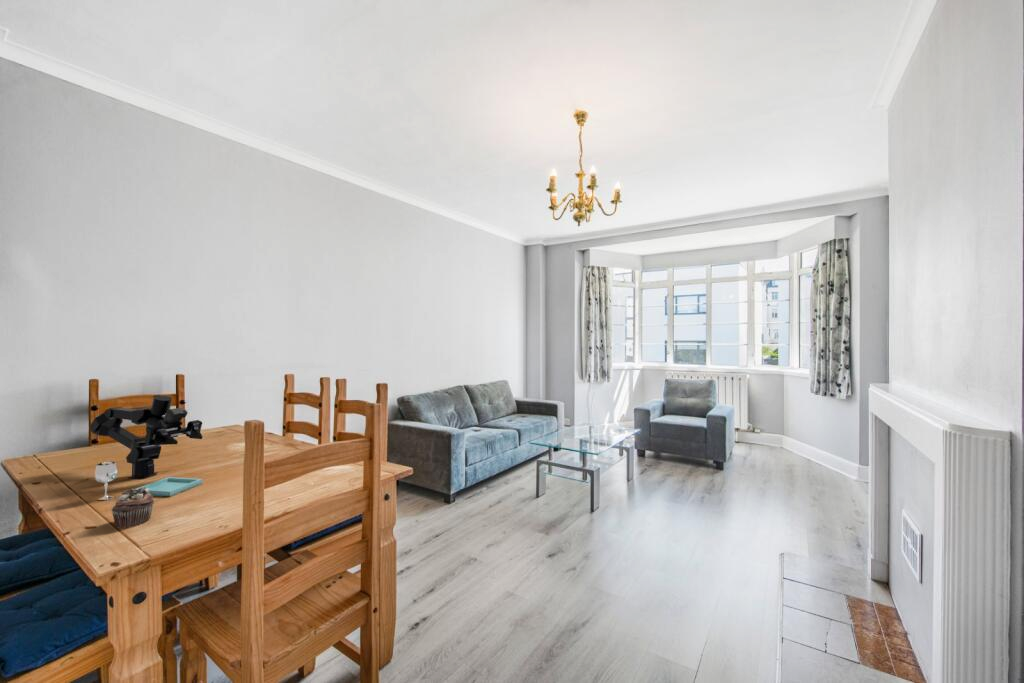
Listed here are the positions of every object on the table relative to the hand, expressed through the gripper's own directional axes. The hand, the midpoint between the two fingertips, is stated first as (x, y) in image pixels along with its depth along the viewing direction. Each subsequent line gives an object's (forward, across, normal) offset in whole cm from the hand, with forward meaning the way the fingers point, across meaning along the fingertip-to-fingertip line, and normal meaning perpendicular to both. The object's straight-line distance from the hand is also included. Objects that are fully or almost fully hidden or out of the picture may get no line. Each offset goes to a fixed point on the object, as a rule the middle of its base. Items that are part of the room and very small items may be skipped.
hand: (189, 440), depth 164 cm
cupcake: (+22, -29, +11) cm, 38 cm away
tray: (+3, -6, +16) cm, 18 cm away
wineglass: (-5, -20, +19) cm, 28 cm away
